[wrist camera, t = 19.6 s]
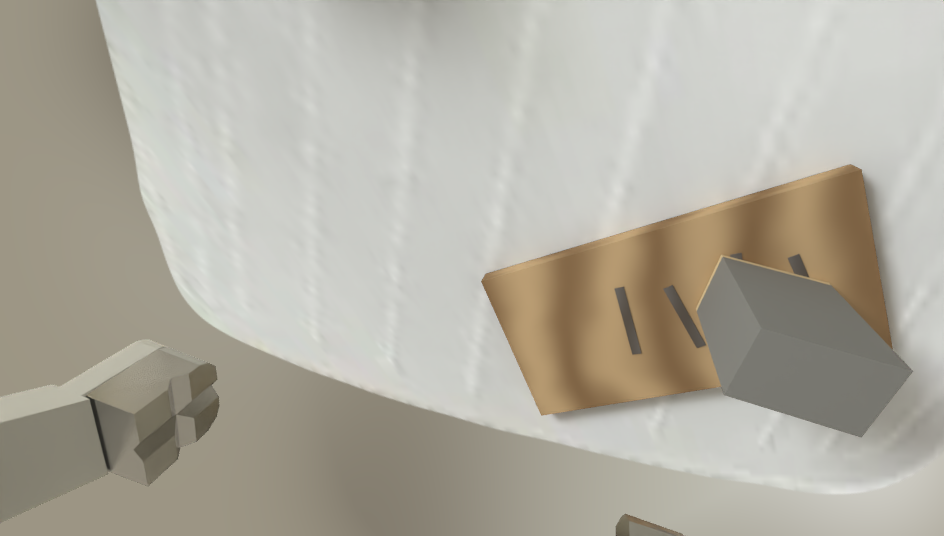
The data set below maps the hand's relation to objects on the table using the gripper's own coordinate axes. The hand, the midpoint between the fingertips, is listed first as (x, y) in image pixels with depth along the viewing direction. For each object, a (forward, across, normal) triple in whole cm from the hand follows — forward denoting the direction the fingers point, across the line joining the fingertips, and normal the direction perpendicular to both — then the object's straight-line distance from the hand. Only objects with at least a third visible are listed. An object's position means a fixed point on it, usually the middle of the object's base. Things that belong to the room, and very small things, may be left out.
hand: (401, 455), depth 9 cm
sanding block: (+28, -16, +6) cm, 32 cm away
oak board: (+29, -11, +9) cm, 33 cm away
